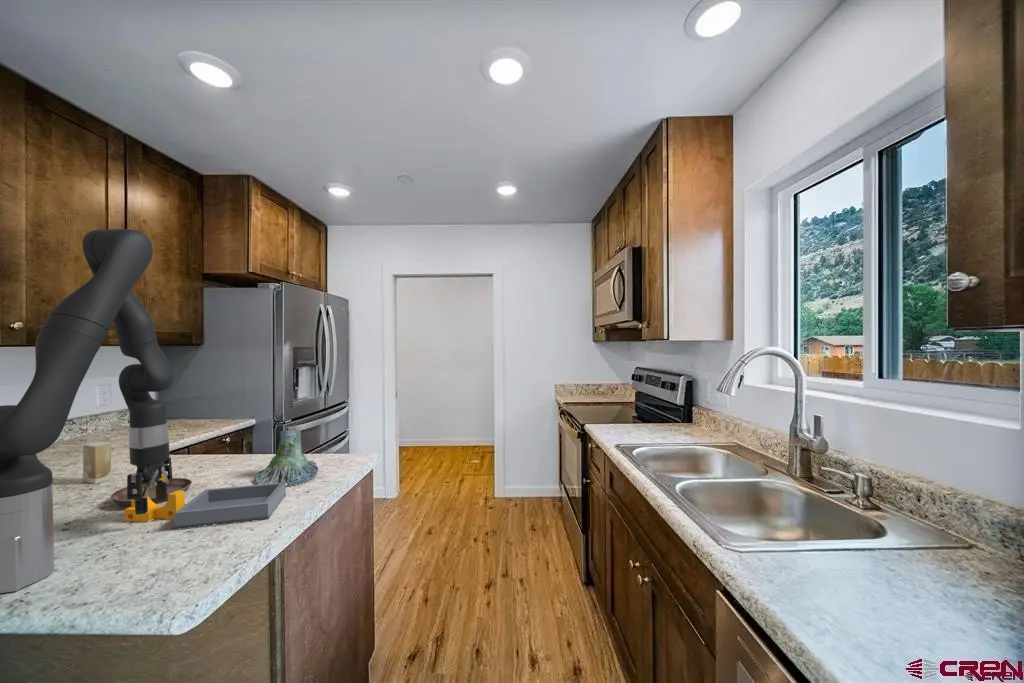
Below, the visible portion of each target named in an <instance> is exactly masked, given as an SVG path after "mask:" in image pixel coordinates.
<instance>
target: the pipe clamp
mask: <svg viewBox="0 0 1024 683" xmlns="http://www.w3.org/2000/svg"><path fill="white" fill-rule="evenodd" d="M143 491H144V490H143ZM185 494H186V492H185V491H175V492H173V493H171V494H169V496H168V501H166V502H165V504H164V505H161V504H160V505H159V504H155V503H154V502H153V501H152V500H151V499H150V497H149V494H148V495H147V499H148V511H147V512H146V513H145V514H136V513H135V500H134V499H131V507H126V508H124V522H126V521H150V520H152V519H154V520H156V519H155V518H175V515H174V513H175V512H177V511H178V510H179V509H181V508H182V507H183V506H185V505H186V502H185V501H186V500H185V499H186V497H185V496H186V495H185ZM152 521H153V520H152ZM150 522H151V521H150Z"/></svg>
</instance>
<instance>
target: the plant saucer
mask: <svg viewBox="0 0 1024 683" xmlns="http://www.w3.org/2000/svg"><path fill="white" fill-rule="evenodd" d="M192 483H193V482H192V480H191V479H189V478H184V477H182V478H181V477H172V479H169V483H168V484H167V498H166V499H164V500H157V499H156V486H157V485H156V484H155V483H154V484H153V487H152V488H151V489H149V492H148V494H149V497H150V499H151V500H152V501H153V502H154V503H155V504H157V505H159V504H162V502H163V503H167V501H168V496H169V494H171V493H173V492H175V491H185V493H186V492H187V491H188V490H189V488H190V487H191V485H192ZM134 490H135V489H133V493H134ZM143 490H144V489H143ZM110 498H111V500H113V502H114V503H115V504H117V505H118V506H121V507H123V508H129V507H131V500H128V499H127V486H125V487H123V488H120V489H118V490H116V491H114V492H113V493H111V495H110ZM158 503H159V504H158Z"/></svg>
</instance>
